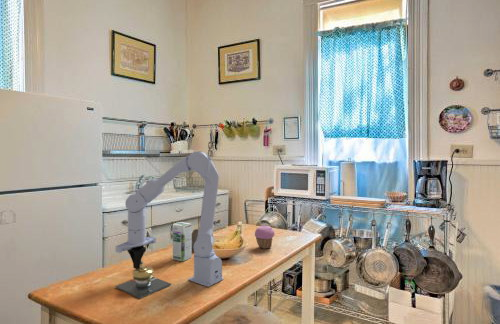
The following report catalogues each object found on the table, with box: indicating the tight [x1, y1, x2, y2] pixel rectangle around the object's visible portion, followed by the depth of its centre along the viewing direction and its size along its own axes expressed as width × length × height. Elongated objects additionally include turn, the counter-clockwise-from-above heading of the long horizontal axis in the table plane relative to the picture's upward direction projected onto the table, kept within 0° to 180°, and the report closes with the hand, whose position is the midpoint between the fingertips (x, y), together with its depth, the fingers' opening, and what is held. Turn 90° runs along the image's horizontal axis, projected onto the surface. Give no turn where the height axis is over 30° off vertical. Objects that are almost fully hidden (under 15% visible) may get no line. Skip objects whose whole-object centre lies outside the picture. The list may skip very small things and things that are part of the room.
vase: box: [192, 228, 199, 251], centre depth 147 cm, size 7×7×9 cm
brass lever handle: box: [132, 260, 155, 280], centre depth 110 cm, size 12×6×2 cm, turn 25°
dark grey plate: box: [114, 276, 172, 300], centre depth 108 cm, size 13×12×3 cm
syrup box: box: [172, 221, 193, 262], centre depth 134 cm, size 6×6×14 cm
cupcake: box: [254, 225, 275, 250], centre depth 149 cm, size 9×9×10 cm
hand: (136, 268), depth 113 cm, fingers closed, pressing on brass lever handle
